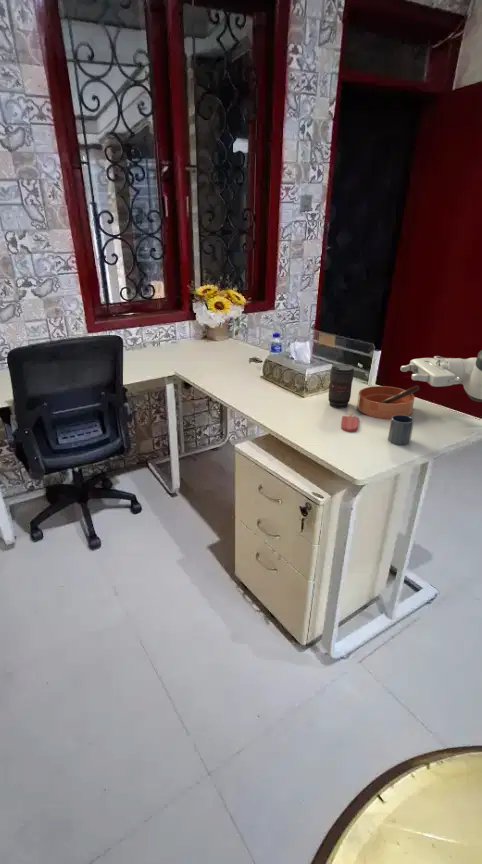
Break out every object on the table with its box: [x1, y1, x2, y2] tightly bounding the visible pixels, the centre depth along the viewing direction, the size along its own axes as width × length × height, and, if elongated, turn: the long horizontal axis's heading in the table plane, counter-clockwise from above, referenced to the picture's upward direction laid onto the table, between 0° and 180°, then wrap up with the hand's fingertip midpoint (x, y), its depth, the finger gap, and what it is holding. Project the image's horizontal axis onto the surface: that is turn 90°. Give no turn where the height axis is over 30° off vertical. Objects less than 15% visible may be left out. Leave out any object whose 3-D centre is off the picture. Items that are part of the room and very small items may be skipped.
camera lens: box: [328, 363, 355, 409], centre depth 153 cm, size 8×8×15 cm
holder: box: [387, 415, 415, 446], centre depth 126 cm, size 6×6×8 cm
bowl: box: [356, 385, 416, 420], centre depth 149 cm, size 18×18×6 cm
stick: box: [379, 385, 420, 404], centre depth 148 cm, size 2×2×16 cm
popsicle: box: [340, 412, 360, 433], centre depth 141 cm, size 5×2×15 cm
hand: (406, 372), depth 143 cm, fingers open, 8 cm apart
